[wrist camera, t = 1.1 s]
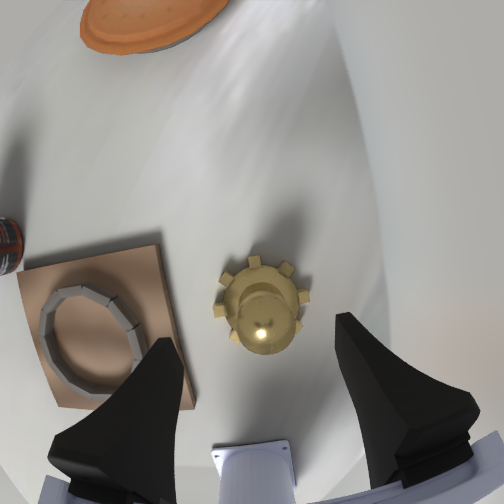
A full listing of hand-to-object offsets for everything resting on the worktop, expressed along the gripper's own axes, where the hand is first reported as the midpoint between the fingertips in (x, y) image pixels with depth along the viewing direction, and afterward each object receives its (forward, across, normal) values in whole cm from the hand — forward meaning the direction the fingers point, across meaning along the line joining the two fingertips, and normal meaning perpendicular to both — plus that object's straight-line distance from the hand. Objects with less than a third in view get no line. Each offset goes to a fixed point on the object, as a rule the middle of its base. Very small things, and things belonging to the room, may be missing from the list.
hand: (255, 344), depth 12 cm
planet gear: (+11, 0, +6) cm, 12 cm away
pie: (+22, +6, -22) cm, 32 cm away
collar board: (+9, +15, +7) cm, 19 cm away
